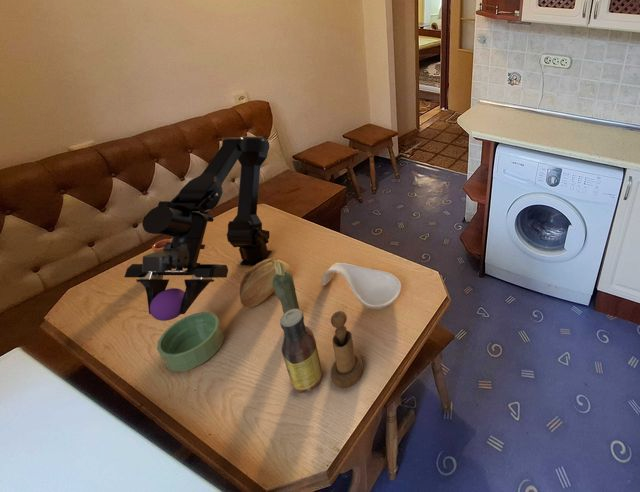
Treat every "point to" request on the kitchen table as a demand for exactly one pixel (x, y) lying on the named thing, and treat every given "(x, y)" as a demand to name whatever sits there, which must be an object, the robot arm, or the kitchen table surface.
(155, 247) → the stand
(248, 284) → the bread roll
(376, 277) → the spoon rest
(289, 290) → the vegetable
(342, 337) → the mortar and pestle
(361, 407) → the kitchen table surface
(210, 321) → the bowl
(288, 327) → the sauce bottle
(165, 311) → the plum
